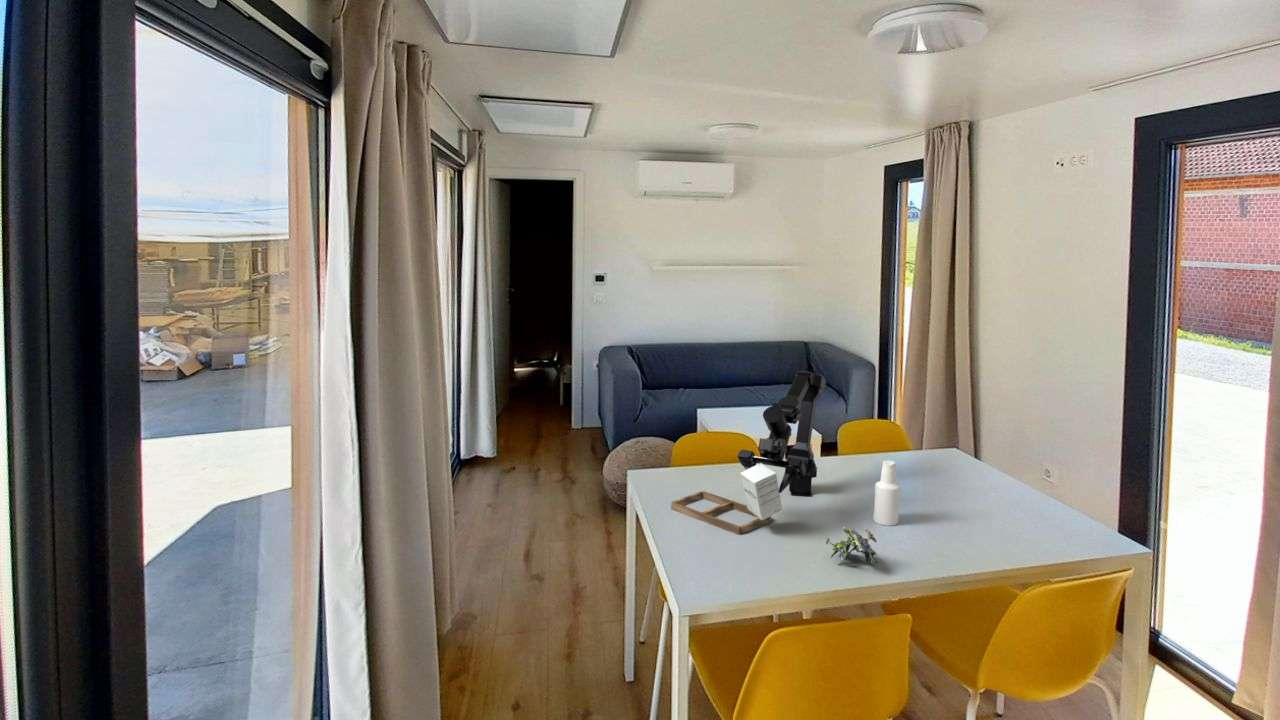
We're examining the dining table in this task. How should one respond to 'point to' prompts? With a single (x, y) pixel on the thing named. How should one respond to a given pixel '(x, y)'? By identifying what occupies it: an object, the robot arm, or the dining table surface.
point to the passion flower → (855, 546)
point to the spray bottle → (887, 496)
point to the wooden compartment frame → (717, 512)
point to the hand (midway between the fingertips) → (763, 489)
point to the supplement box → (761, 491)
